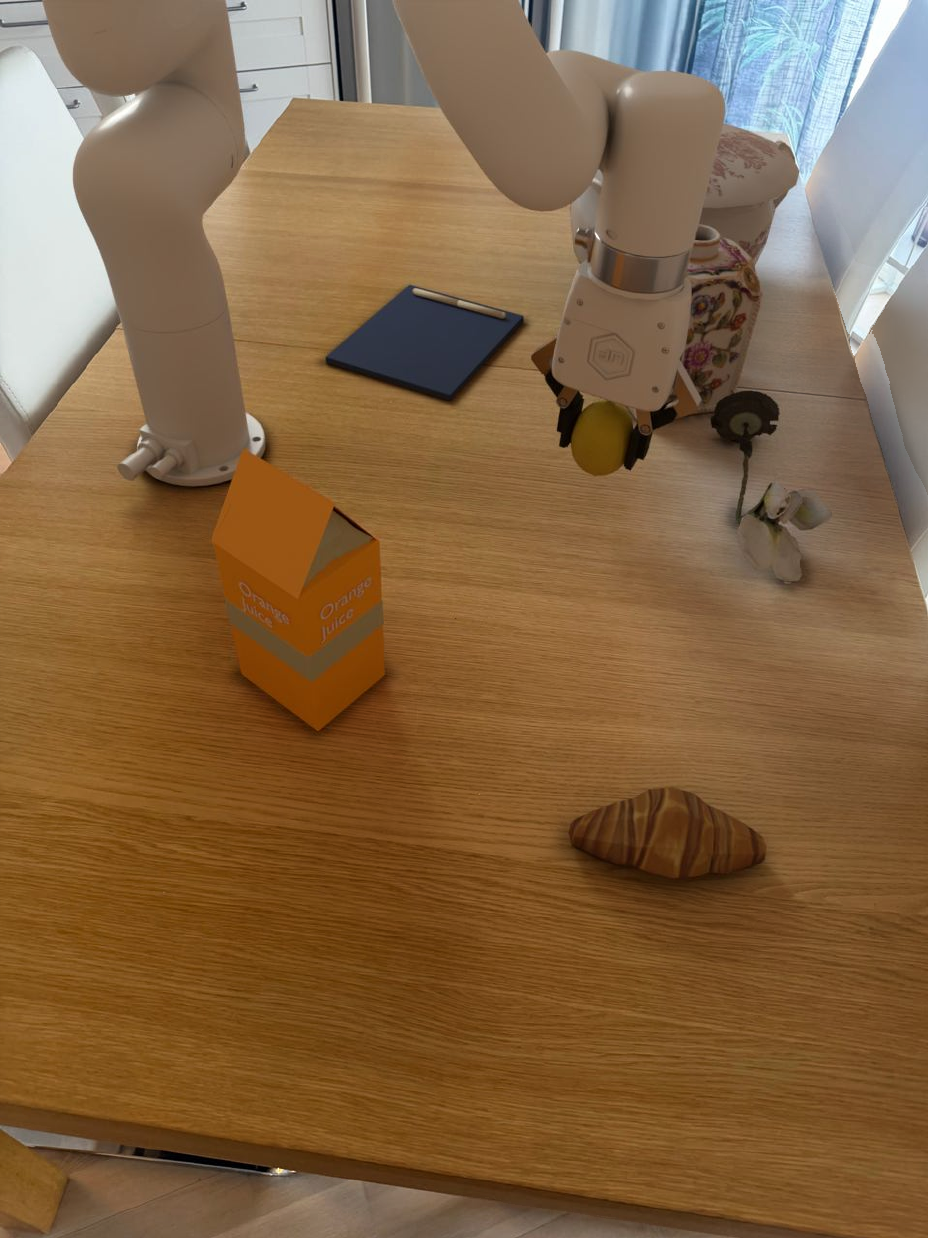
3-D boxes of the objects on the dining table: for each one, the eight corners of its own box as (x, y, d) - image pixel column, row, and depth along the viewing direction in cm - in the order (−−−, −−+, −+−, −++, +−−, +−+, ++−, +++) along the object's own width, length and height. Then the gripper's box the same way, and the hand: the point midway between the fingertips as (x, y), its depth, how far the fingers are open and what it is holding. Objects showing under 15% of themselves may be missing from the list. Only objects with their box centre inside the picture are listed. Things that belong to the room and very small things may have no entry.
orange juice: (309, 621, 78) (284, 422, 64) (387, 674, 75) (379, 475, 60) (238, 675, 74) (194, 474, 59) (316, 734, 70) (290, 535, 56)
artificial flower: (776, 450, 99) (832, 382, 91) (780, 615, 86) (845, 551, 78) (701, 422, 98) (750, 350, 90) (692, 584, 85) (750, 517, 77)
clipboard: (450, 401, 102) (450, 388, 100) (325, 362, 106) (324, 350, 105) (523, 321, 114) (524, 309, 113) (409, 289, 119) (409, 278, 118)
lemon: (623, 459, 88) (640, 387, 82) (624, 496, 84) (642, 423, 79) (565, 453, 88) (578, 380, 82) (564, 490, 84) (577, 416, 79)
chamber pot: (532, 325, 113) (549, 146, 98) (568, 231, 132) (587, 69, 117) (764, 361, 110) (818, 181, 95) (767, 259, 128) (814, 95, 113)
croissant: (754, 815, 67) (773, 776, 63) (767, 903, 62) (789, 866, 58) (566, 798, 67) (575, 759, 63) (566, 884, 62) (574, 847, 59)
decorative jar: (634, 425, 100) (667, 263, 87) (595, 367, 107) (620, 211, 94) (735, 411, 102) (781, 252, 89) (689, 356, 110) (726, 202, 97)
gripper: (517, 248, 71) (497, 442, 84) (735, 309, 66) (677, 504, 80) (555, 213, 76) (530, 402, 89) (760, 268, 71) (702, 458, 84)
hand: (600, 448), depth 84 cm, fingers closed on lemon, 5 cm apart
